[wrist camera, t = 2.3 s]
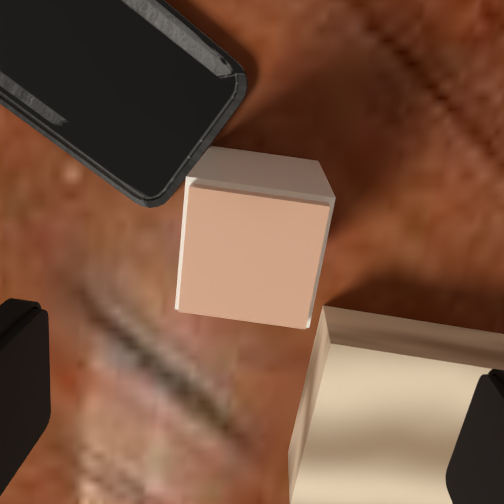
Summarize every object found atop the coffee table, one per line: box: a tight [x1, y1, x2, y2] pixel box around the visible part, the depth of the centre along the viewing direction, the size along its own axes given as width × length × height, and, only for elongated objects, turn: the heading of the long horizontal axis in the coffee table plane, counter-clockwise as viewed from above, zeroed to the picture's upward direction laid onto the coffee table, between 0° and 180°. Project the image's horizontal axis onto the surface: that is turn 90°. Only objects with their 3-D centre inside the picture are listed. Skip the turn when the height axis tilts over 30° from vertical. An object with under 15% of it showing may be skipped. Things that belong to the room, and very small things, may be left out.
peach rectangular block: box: [175, 146, 336, 329], centre depth 19 cm, size 5×5×7 cm
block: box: [288, 305, 504, 504], centre depth 25 cm, size 10×10×4 cm
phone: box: [0, 0, 248, 208], centre depth 20 cm, size 8×1×15 cm
